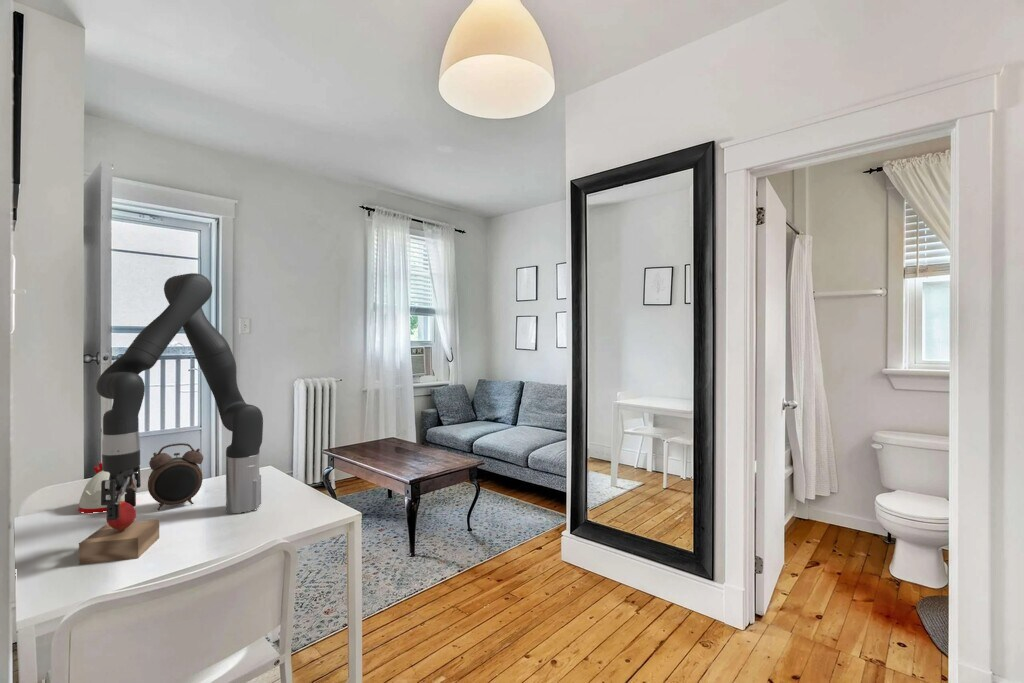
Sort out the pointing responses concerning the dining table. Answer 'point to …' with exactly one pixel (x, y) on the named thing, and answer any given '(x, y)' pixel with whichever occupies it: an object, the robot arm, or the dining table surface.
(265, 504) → the dining table surface
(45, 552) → the dining table surface
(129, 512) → the onion
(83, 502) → the kitchen timer
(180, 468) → the alarm clock
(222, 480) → the dining table surface
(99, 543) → the walnut base
